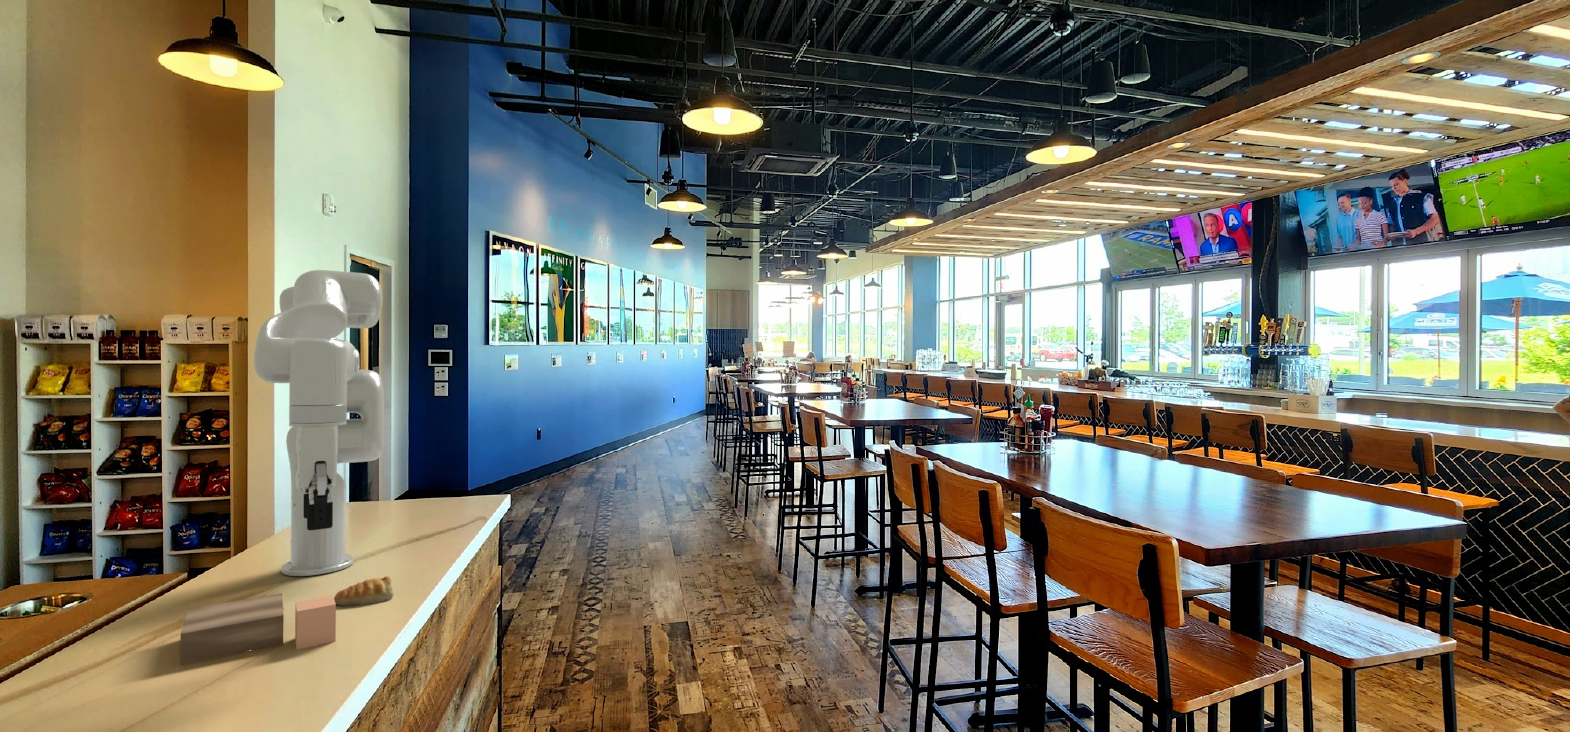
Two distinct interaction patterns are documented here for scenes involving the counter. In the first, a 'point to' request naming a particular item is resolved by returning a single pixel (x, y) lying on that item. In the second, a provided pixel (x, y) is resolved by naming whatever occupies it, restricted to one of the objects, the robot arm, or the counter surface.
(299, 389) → the robot arm
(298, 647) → the terracotta block
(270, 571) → the counter surface
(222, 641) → the taupe streaked block
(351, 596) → the pastry
